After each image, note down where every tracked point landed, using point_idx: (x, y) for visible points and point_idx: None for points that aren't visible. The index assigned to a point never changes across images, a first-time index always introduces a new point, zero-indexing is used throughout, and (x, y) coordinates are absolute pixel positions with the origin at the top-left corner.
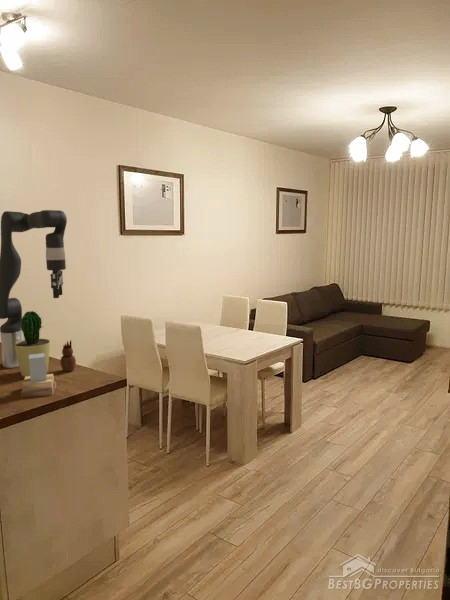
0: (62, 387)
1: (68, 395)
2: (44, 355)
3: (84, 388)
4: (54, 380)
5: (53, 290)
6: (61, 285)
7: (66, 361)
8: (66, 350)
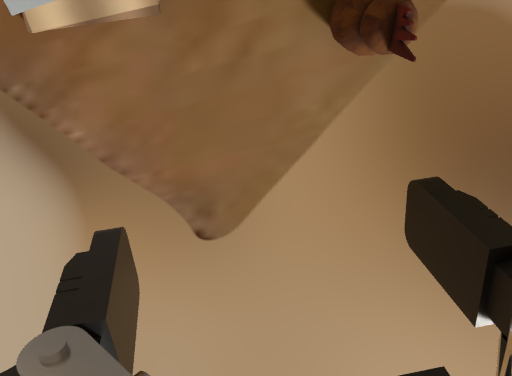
0: (130, 46)
1: (37, 96)
2: (44, 2)
3: (120, 137)
4: (156, 5)
5: (75, 318)
6: (499, 337)
7: (341, 19)
8: (371, 28)
